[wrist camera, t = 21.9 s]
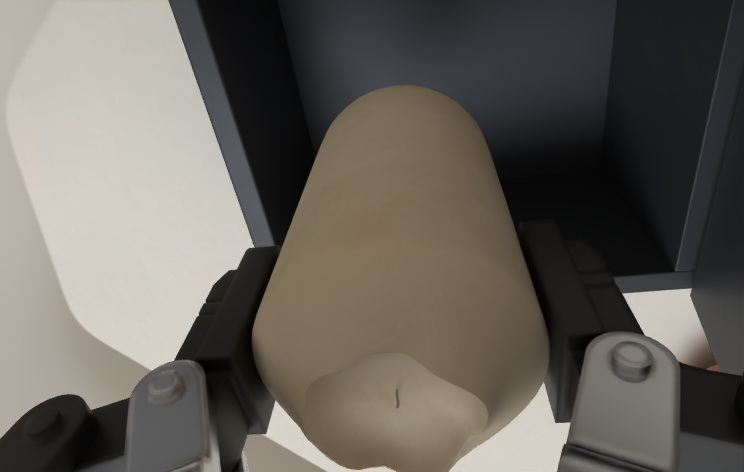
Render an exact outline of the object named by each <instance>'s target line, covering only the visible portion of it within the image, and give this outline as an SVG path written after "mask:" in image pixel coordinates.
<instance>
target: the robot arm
mask: <svg viewBox="0 0 744 472" xmlns="http://www.w3.org/2000/svg"><path fill="white" fill-rule="evenodd" d="M519 243H520V246H521V249H522V252H523V255H524V258H525V261H526V264H527V267H528V270H529V273H530V276H531V279H532V282H533V285H534V289H535V292H536V295H537V298H538V301H539V304H540V307H541V310H542V313H543V316H544V319H545V323H546V326H547V330H548V334H549V339H550V358H549V366H548V371H547V373H546V376H545V379H544V384H545V387H546V391H547V394H548V398H549V401H550V405H551V409H552V412H553V416H554V419H555V423H566V422H571V424H570V429H569V434H568V438H567V442H566V444H564V446H563V449H562V452H561V456H560V461H559V465H558V470H557V472H744V372H743V375H742V376H740V375H735V374H729V373H723V372H718V371H712V370H707V369H701V368H697V367H692V366H689V365H686V364H683V363H681V362H678V361H677V359H676V357H675V356H674V355H673V353H672V352H671V351H670V350H669V349H668V348H666V347H665V346H664V345H663V344H661V343H659V342H658V341H656V340H654V339H652V338H650V337H647V336H645V335H644V333H643V331H642V329H641V328H640V326H639V324H638V322H637V320H636V318H635V317H634V315H633V313H632V311H631V309H630V307H629V306H628V304H627V302H626V300H625V298H624V296H623V295H622V293H621V291H620V289H619V287H618V285H616V284H615V280H614V278H613V276H612V274H611V273H610V271H608V267H607V265H606V263H605V262H604V260H603V258H602V256H601V254H600V252H599V251H597V250H596V249H595V248H593V247H592V246H591V245H589V244H588V243H587V242H585V241H584V240H582V239H576V240H564V238H563V236H562V233H561V231H560V229H559V227H558V225H557V223H556V221H555V220H554V219H550V220H540V221H530V222H520V224H519ZM281 249H282V248H281V247H280V246H278V245H277V246H267V247H256V248H249V249H247V250H246V252H245V254H244V256H243V258H242V260H241V262H240V264H239V267H238V269H237V270H229V271H228V272H227V273H226V274H225V275H224V276H223V277H221V278H220V279H219V280H218V281H217V282H216V283H215V284H214V285H213V287H212V289H211V291H210V293H209V295H208V297H207V299H206V303H204V304H203V306H202V308H201V310H200V312H199V316H197V318H196V320H195V322H194V323H193V325H192V327H191V329H190V331H189V333H188V335H187V337H186V339H185V341H184V343H183V345H182V346H181V348H180V350H179V352H178V354H177V356H176V358H175V360H174V361H172V362H169V363H166V364H164V365H161V366H159V367H157V368H156V369H154V370H152V371H151V372H150V373H148V374H147V375H146V376H145V377H143V378H142V379H141V381H139V383H138V384H137V385H136V387H135V388H134V390H133V391H132V394H131V396H130V398H128V399H124V400H121V401H118V402H115V403H112V404H109V405H106V406H103V407H100V408H96V409H93V410H91V409H90V408H89V406H88V405H87V404H86V402H85V401H84V400H83V399H82V398H81V397H80V396H77V395H69V394H67V395H61V396H57V397H54V398H51V399H49V400H46V401H44V402H42V403H40V404H39V405H37V406H35V407H34V408H32V409H31V410H29V411H28V412H27V413H26V414H24V415H23V416H22V417H21V418H20V419H19V420H18V421H17V422H16V423H15V424H14V425H13V426H12V427H11V428H10V429H9V430H8V431H7V432H6V434H5V435H4V436H3V437H2V438H1V439H0V472H249V470H248V463H247V458H246V455H245V453H244V451H243V447H244V444H245V440H246V438H247V435H249V434H266V432H267V429H268V425H269V422H270V418H271V414H272V411H273V407H274V403H275V399H274V397H273V396H272V395H271V394H270V392H269V391H268V389H267V388H266V386H265V385H264V383H263V382H262V380H261V377H260V375H259V373H258V371H257V368H256V365H255V362H254V358H253V352H252V331H253V326H254V323H255V319H256V315H257V313H258V310H259V307H260V304H261V302H262V299H263V296H264V294H265V291H266V289H267V286H268V283H269V281H270V278H271V275H272V273H273V270H274V267H275V265H276V262H277V259H278V257H279V254H280V252H281Z"/></svg>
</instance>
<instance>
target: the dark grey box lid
mask: <svg viewBox="0 0 744 472" xmlns="http://www.w3.org/2000/svg"><path fill="white" fill-rule="evenodd" d="M690 297H691V299H692V302H693V304H694V307H695V309H696V312H697V314H698V317H699V319H700V322H701V325H702V327H703V330H704V332H705V335H706V337H707V340H708V342H709V345H710V348H711V350H712V353H713V355H714V358H715V360H716V363H717V365H718V368H719V371H720V372H723V373H729V374H735V375H740V376H742V375H743V372H744V77H743V81H742V86H741V90H740V94H739V98H738V102H737V106H736V110H735V114H734V118H733V122H732V126H731V131H730V135H729V139H728V143H727V147H726V151H725V155H724V159H723V163H722V167H721V171H720V176H719V180H718V184H717V188H716V192H715V196H714V200H713V204H712V208H711V212H710V216H709V221H708V225H707V229H706V233H705V237H704V241H703V245H702V249H701V253H700V257H699V261H698V265H697V270H696V274H695V278H694V282H693V286H692V290H691V294H690Z"/></svg>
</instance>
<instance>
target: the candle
mask: <svg viewBox="0 0 744 472" xmlns="http://www.w3.org/2000/svg"><path fill="white" fill-rule="evenodd" d="M252 352H253V358H254V362H255V365H256V368H257V371H258V373H259V375H260V377H261V380H262V382H263V383H264V385H265V386H266V388H267V389H268V391H269V392H270V394H271V395H272V396H273V397H274V399H275V400H276V401H277V402H278V403H279V405H280V406H281V407H282V408H283V409H284V410H285V412H286V413H287V414H288V415H289V416H290V417H291V418H292V419H293V421H294V422H295V423H296V424H297V425H298V426H299V427H300V428H301V430H302V432H303V433H304V435H305V436H306V438H307V439H308V440H309V441H310V442H311V443H312V444H313V445H314V446H315V447H316V448H317V449H318V450H320V451H321V452H322V453H323V454H324V455H325V456H327V457H328V458H329V459H330V460H332V461H334V462H335V463H337V464H338V465H340V466H343V467H345V468H347V469H353V470H362V469H367V468H375V467H386V468H388V469H391V470H393V471H396V472H449V470H450V469H451V468H452V467H453V466H454V464H455V463H456V462H457V461H458V460H460V459H461V458H462V457H463V456H465V455H466V454H467V453H469V452H470V451H472V450H473V449H474V448H476V447H477V446H478V445H480V444H482V443H483V442H485V441H487V440H488V439H490V438H491V437H492V436H494V435H495V434H496V433H498V432H499V431H500V430H501V429H503V428H504V427H505V426H507V425H508V424H509V423H510V422H511V421H512V420H513V419H514V418H516V417H517V416H518V415H519V414H520V413H521V412H522V411H523V410H524V409H525V408H526V407H527V405H528V404H529V403H530V402H531V400H532V399H533V398H534V397H535V395H536V394H537V392H538V390H539V389H540V387H541V385H542V384H543V381H544V379H545V376H546V373H547V371H548V366H549V358H550V339H549V334H548V330H547V326H546V323H545V319H544V316H543V313H542V310H541V307H540V304H539V301H538V298H537V295H536V292H535V289H534V285H533V282H532V279H531V276H530V273H529V270H528V267H527V264H526V261H525V258H524V255H523V252H522V249H521V246H520V243H519V240H518V237H517V233H516V230H515V227H514V224H513V221H512V218H511V215H510V212H509V209H508V206H507V203H506V200H505V197H504V194H503V191H502V188H501V185H500V181H499V178H498V175H497V172H496V169H495V166H494V163H493V160H492V157H491V154H490V151H489V149H488V146H487V143H486V141H485V138H484V136H483V133H482V131H481V130H480V128H479V126H478V124H477V123H476V122H475V120H474V119H473V118H472V117H471V115H470V114H469V113H468V112H467V111H466V110H465V109H464V108H463V107H462V106H461V105H460V104H458V103H457V102H455V101H454V100H453V99H451V98H450V97H448V96H446V95H444V94H442V93H440V92H437V91H434V90H432V89H429V88H424V87H419V86H409V85H401V86H391V87H385V88H381V89H378V90H375V91H372V92H370V93H368V94H365V95H363V96H361V97H360V98H358V99H357V100H355V101H354V102H352V103H351V104H350V105H349V106H347V107H346V108H345V109H344V110H343V111H342V112H341V113H340V114H339V115H338V116H337V118H336V119H335V120H334V121H333V123H332V124H331V126H330V127H329V129H328V131H327V133H326V135H325V137H324V140H323V142H322V144H321V146H320V149H319V151H318V154H317V156H316V159H315V162H314V164H313V167H312V170H311V172H310V175H309V178H308V180H307V183H306V186H305V188H304V191H303V193H302V196H301V199H300V201H299V204H298V207H297V209H296V212H295V215H294V217H293V220H292V222H291V225H290V228H289V230H288V233H287V236H286V238H285V241H284V244H283V246H282V249H281V252H280V254H279V257H278V259H277V262H276V265H275V267H274V270H273V273H272V275H271V278H270V281H269V283H268V286H267V289H266V291H265V294H264V296H263V299H262V302H261V304H260V307H259V310H258V313H257V315H256V319H255V323H254V326H253V331H252Z"/></svg>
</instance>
